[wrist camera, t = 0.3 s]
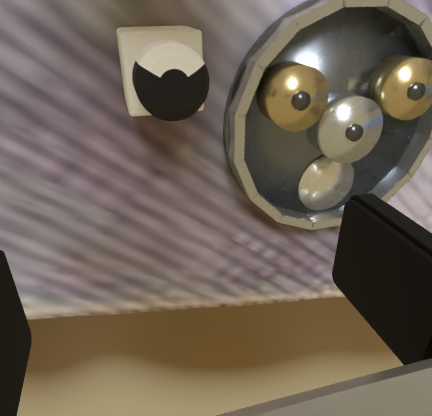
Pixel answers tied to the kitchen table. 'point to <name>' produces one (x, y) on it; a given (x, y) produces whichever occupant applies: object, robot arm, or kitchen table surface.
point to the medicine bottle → (163, 71)
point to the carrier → (331, 108)
